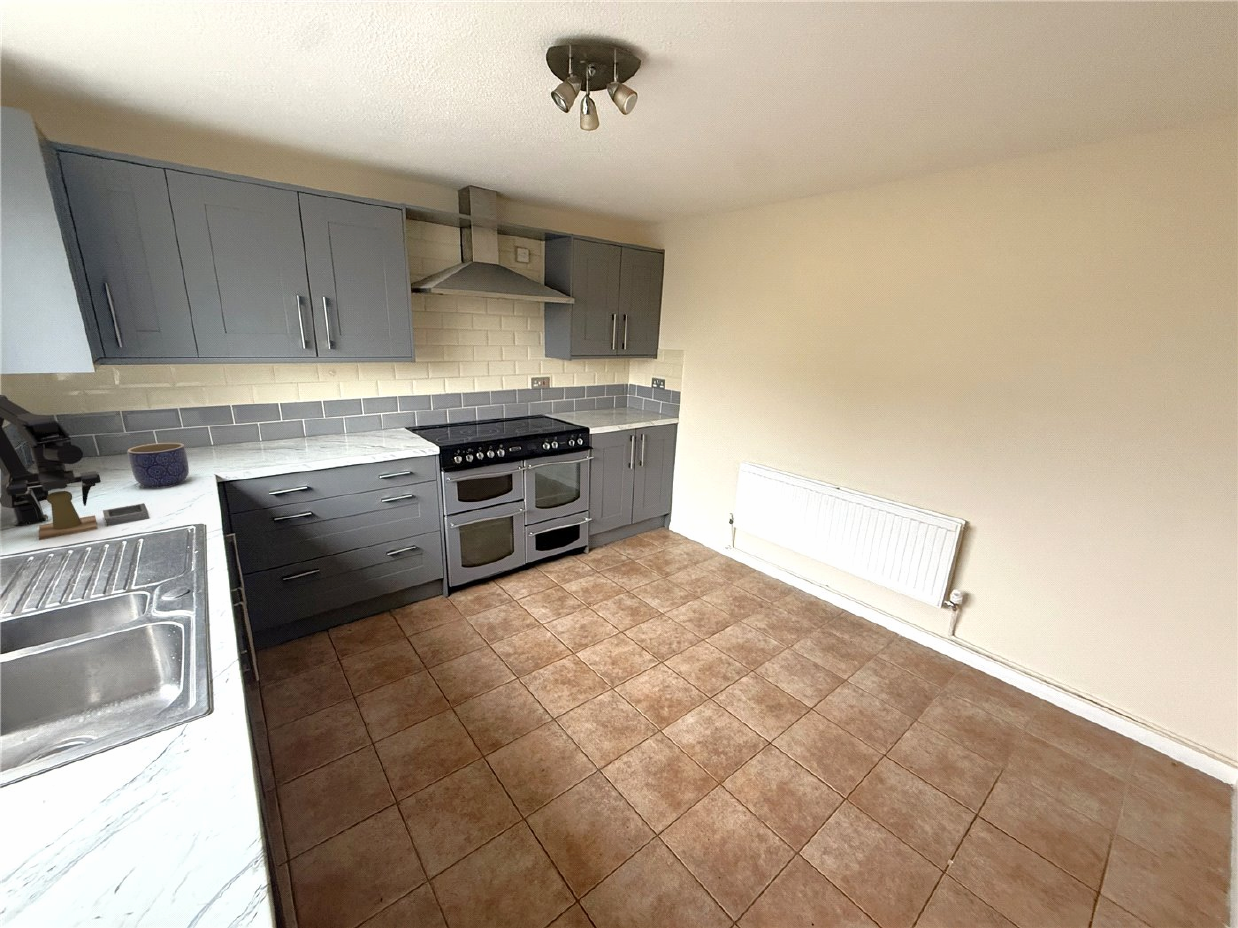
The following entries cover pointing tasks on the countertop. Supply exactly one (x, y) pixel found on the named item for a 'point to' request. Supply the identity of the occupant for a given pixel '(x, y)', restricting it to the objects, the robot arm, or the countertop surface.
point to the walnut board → (50, 532)
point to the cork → (63, 510)
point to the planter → (159, 464)
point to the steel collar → (125, 514)
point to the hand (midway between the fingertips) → (63, 509)
